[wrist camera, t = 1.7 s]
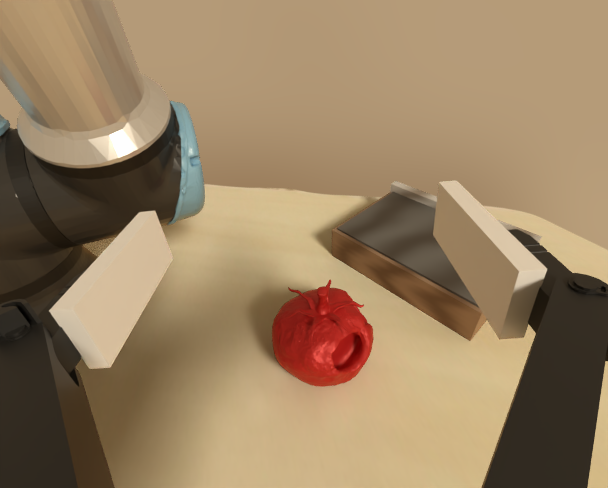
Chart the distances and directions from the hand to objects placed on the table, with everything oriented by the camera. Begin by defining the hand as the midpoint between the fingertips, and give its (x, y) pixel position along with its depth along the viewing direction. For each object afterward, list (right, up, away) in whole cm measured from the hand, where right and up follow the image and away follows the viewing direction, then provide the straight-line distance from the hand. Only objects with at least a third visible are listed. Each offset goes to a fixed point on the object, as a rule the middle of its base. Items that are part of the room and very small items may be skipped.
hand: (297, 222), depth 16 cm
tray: (+16, -4, +29) cm, 33 cm away
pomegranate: (+2, -13, +20) cm, 24 cm away
